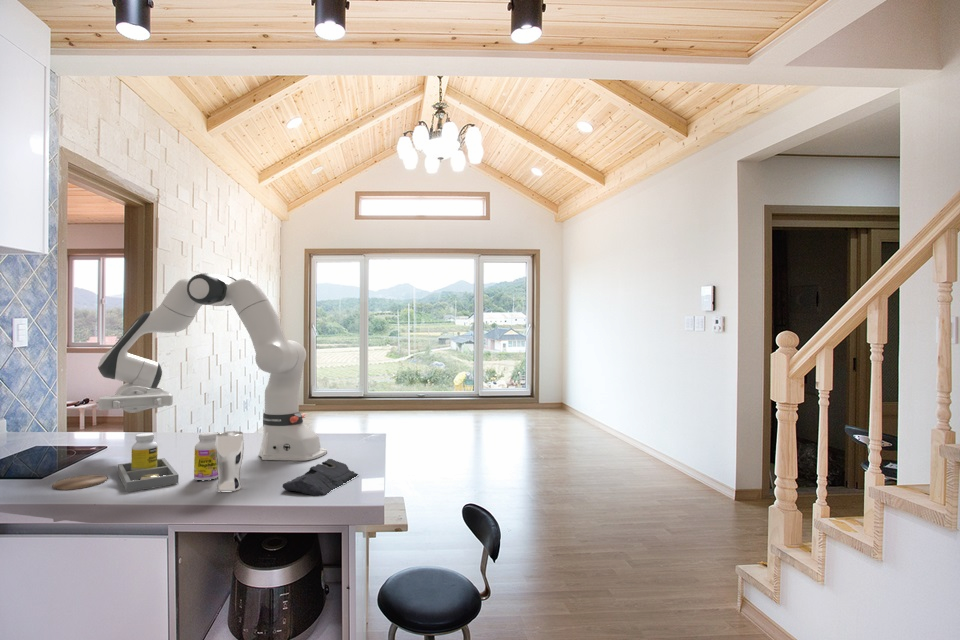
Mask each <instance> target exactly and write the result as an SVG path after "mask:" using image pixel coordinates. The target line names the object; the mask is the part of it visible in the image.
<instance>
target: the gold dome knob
mask: <svg viewBox="0 0 960 640" xmlns="http://www.w3.org/2000/svg"><path fill="white" fill-rule="evenodd" d="M154 477H159V474H148V475H144V476H141V479H147V478H154ZM141 479H140V480H141Z"/></svg>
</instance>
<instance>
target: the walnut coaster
mask: <svg viewBox="0 0 960 640" xmlns="http://www.w3.org/2000/svg"><path fill="white" fill-rule="evenodd" d="M107 480H108V476H107V475H103V474H85V475H77V476H72V477H68V478H64V479H61V480H58V481H55V482H54V483H52V489H54V490H58V491H61V490H62V491H69V490H70V489H72V490H81V489H85V488H92V487H94V486H95V487H96V486H98V485H101V483H102V484H103V483H105V481H106V482H107Z"/></svg>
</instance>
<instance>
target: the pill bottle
mask: <svg viewBox="0 0 960 640" xmlns="http://www.w3.org/2000/svg"><path fill="white" fill-rule="evenodd" d="M154 439H155V433H152V432H145V433H138V434H136V435H135V441H136V442H135V443H134V444H132V446H131V462H130V463H131V471H136V470H143V469H150V468H157V459H158V450H159V449H158V446H159V445H158V443H157V442H156V441H154Z"/></svg>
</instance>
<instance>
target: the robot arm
mask: <svg viewBox="0 0 960 640" xmlns="http://www.w3.org/2000/svg"><path fill="white" fill-rule="evenodd" d="M203 305H204V306H212V307H224V306H225V307H228V306H229V307H230V306H232V307H233V308H234V311H236V314H237V316H238V317H239V319H240V321H241V323H242V324H243V325H244V327H245V330H246V331H247V333H248V335H249V337H250V339H251V342H252V345H253V346H252V347H253V348H254V351H255V358H254V359H255V363H256V365H257V367H258V368H259V369H260V370H261V371H262V372H265V373H267V374H269V379H268V383H267V385H266V387H265V389H264V412H263V415H262V425H263V433H262V440H261V445H260V449H259V452H258V456H259V457H261V460H263V461H294V462H295V461H296V462H297V461H303V462H304V461H310V460H311V461H312V460H314V459H317V458H318V459H319V458H320V457H322V456H324V455H326V454H327V453H328V449H327V448H323V447H321V440H320V437H319V435H318V434H317V433H316V432H315V431H314V430H312V429H311V428H310V427H309V426H308V425H307V424H305V423H304V419H305V418H306V413H304V414H301V412H300V411H299V409H300V408H299V407H300V406H299V401H300V386H301V381H302V380H301V379H302V375H303V370H304V363H305V361H306V360H307V350H306V348H305V347H304V345H303V344H301V343H300V342H298V341H296V340H292V339H286V337H285V335H284V332H283V328H282V326H281V324H282V323H281V319H280V316H279V315H278V314H277V312H276V310H275V309H274V307H273V304H271V302H270V300H269V298H268V297H267V295H266V294H265V292H264V291H263V290H262V288H261V287H260V286H259V285H258V284H257V283H256V281H254V279H252V278H246V277H243V278H239V279H235V278H234V277H233V276H228V275H227V276H226V275H222V274H219V273H208V272H207V273H206V272H203V273H199V274H195V275H194V276H192V277H191V278H182V279H179V280H178V281H176V283H175V284H174V285H173V286H172V287H171V289H170V290H169V291H168V292H167V293H166V295H165V297H164V299H162V302H161V303H160V304H159V306H158V307H156V308H155V309H154V310H151V311H145V312H143V313H142V314H141V315H139V317H138V318H137V319H136V320H135V321H134V322H133V323H132V324H131V325H130V326H129V328H127V330H126V331H125V332H124V334H122V335H121V337H119V339H118V340H117V341H116V342H115V344H114V345H113V346H112V347H111V348H110V349H108V351H106V352H105V354H104V355H102V357H101V358H100V360H99V362H98V367H97V369H98V372H99V373H100V374H101V376H102V377H103V378H104V379H105V378H106V379H111V380H117V381H120V382H124V383H122V384H121V385H120V386H119V387H118V388H117V390H116V392H115V395H104V396H100V397H98V400H96V401H95V404H97V407H98V411H106V410H107V411H108V410H111V411H112V410H123V412H125V413H129V414H132V413H133V414H134V413H135V414H136V413H139V412H142V411H143V412H144V411H146V410H150V409H159V408H163V407H169V406H170V407H171V406H172V405H173V403H174V402H173V394H172V393H171V392H170V391H167V390H165V388H162V387H158V386H159V384H160V382H161V380H162V376H163V370H162V367H161V364H160V363H159V362H157V361H154V360H152V359H149V358H145V357H142V356H139V355H135V354H132V353H129V352H128V351H129V350H130V349H131V348H132V347H133V346H134V344H135V343H136V342H137V341H138V339H139V338H140V337H142V336H143V335H146V334H150V333H151V334H152V333H160V334H161V333H166V334H171V333H172V334H173V333H178V332H181V331H184V330H186V329H188V327H189V326H190V325H191V323H192V322H193V320H194V319H195V317H196V315H197V313H198V311H199V310H200V308H201V307H202V306H203Z"/></svg>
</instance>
